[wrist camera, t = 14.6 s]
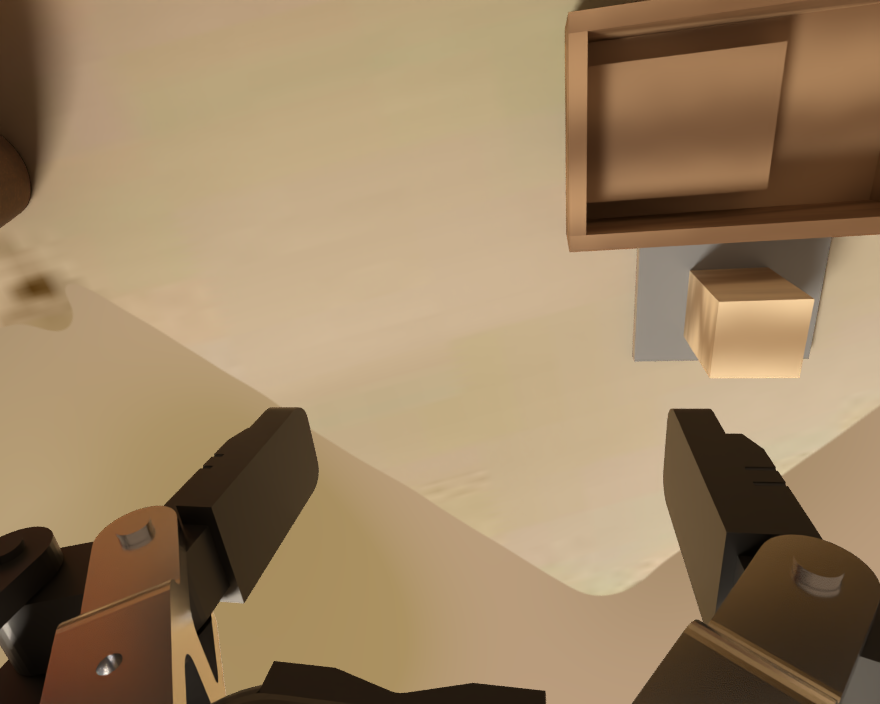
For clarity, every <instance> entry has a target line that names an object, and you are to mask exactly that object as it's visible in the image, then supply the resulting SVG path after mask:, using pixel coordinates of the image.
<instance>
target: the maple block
mask: <svg viewBox="0 0 880 704" xmlns="http://www.w3.org/2000/svg"><path fill="white" fill-rule="evenodd" d="M813 305H814V298H812V297H811V296H809V295H808V294H806V293H805V292H804V291H802V290H801V289H799V288H798V287H796V286H795V285H793V284H792V283H790V282H789V281H787V280H786V279H784V278H783V277H781V276H780V275H779V274H777V273H776V272H774V271H773V270H771V269H770V268H768V267H763V268H739V269H715V270H691V271H690V273H689V283H688V294H687V305H686V315H685V326H684V338H685V339H686V341H687V342H688V344H689V346H690V347H691V349H692V350H693V352H694V354H695V355H696V357H697V358H698V360H699V362H700V363H701V365H702V366H703V368H704V370H705V371H706V373H707V374H708V376H709V378H799V377H800V372H801V367H802V361H803V356H804V351H805V346H806V341H807V336H808V330H809V325H810V320H811V315H812V310H813Z"/></svg>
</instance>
